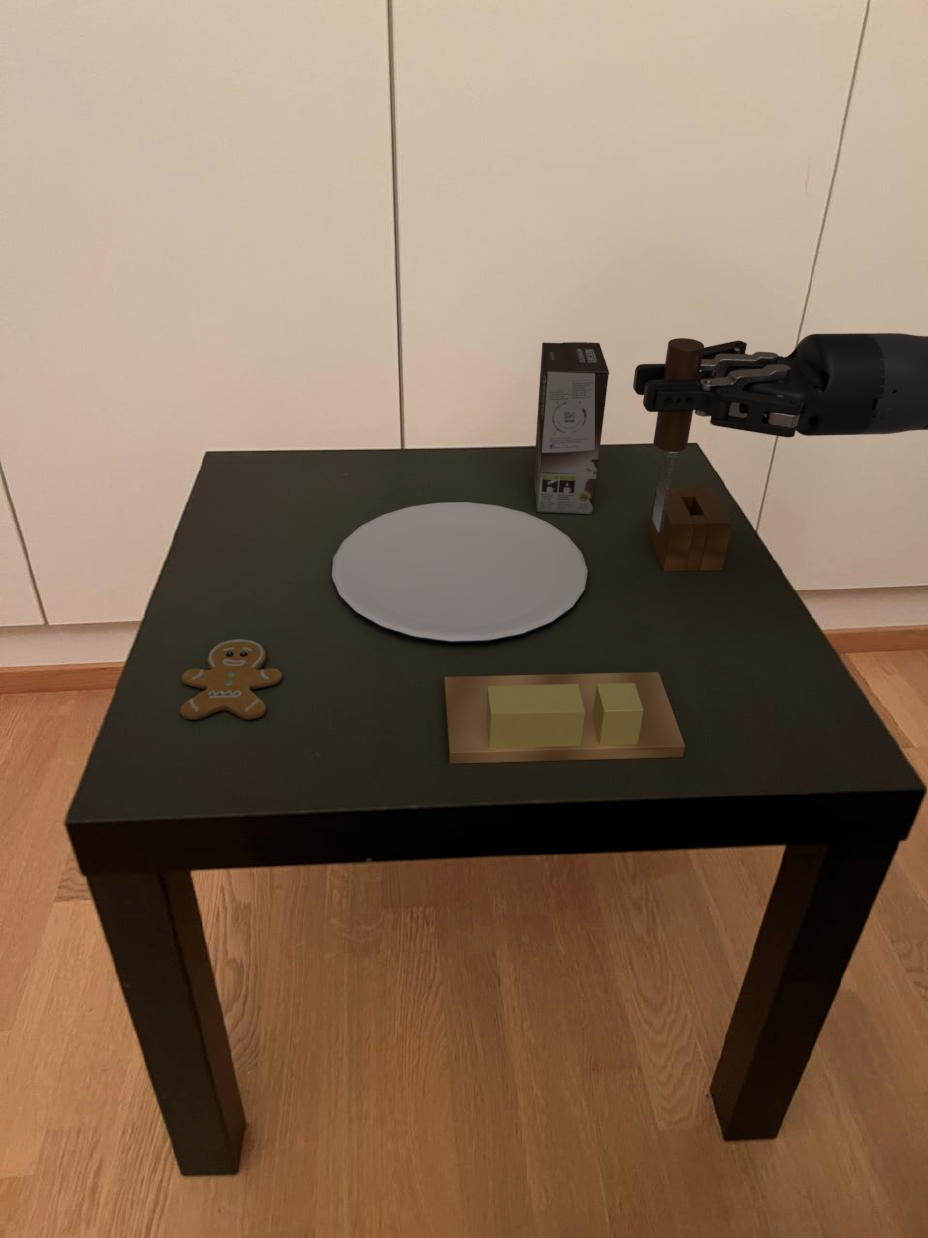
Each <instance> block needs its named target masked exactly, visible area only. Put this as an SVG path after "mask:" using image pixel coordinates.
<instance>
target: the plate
mask: <svg viewBox="0 0 928 1238" xmlns="http://www.w3.org/2000/svg"><path fill="white" fill-rule="evenodd" d="M331 568H332V569H331V579H332V581H333V584H334V586H335V588H336V591H337V594H338V595H339V597H340V598H341V599H342V601H344V602H345V603H346V604H347V606H348V607H349V608H351V609H352V610H353V611H354V613H355V614H356V615H359V616H360V617H362V618H364V619H366V620H368V621H369V622H371V623H373V624H375V625H376V626H378V627H380V628H382V629H385V630H388V631H391V632H394V633H397V634H400V635H404V636H407V637H410V638H414V639H419V640H427V641H435V642H441V643H442V642H443V643H449V644H453V643H489V642H494V641H498V640H504V639H509V638H515V637H519V636H523V635H526V634H528V633H531V632H534V631H536V630H538V629H541V628H543V627H545V626H548V625H550V624H552V623H554V622H555V621H557V620H558V619H559V618H561V617H562V616H564V615H565V614H566V613H567V612H569V611H570V610H572V609H573V608H574V606H575V605H576V604H577V602H578V600H579V599H580V598H581V596H583V593H584V592H585V590H586V585H587V578H588V571H589V570H588V567H587V564H586V560H585V558H584V554H583V552H582V550H580V549H579V547H578V546H577V545H576V544H575V542H574V541H573V540H572V539H571V538H570V537H569V536H568V535H567V534H566V533H565V532H562V531H561V530H560V529H558V528H556V526H554V525H552V524H551V523H550V522H548V521H546V520H543V519H541V518H538V517H537V516H534V515H531V514H529V513H526V512H524V511H521V510H517V509H512V508H509V507H505V506H500V505H496V504H487V503H480V502H479V503H478V502H472V501H471V502H470V501H456V502H455V501H448V502H432V503H427V504H419V505H412V506H407V507H404V508H400V509H397V510H394V511H390V512H387V513H384V514H382V515H379V516H377V517H375V518H373V519H372V520H370V521H368V522H365V523H364V524H362V525H360V526H359V527H358V528H356V529H355V530H354V531H353V532H352V533H351V534H349V535H348V536H347V537H346V538H345V539H344V540H342V542H341V543H340V546H339V547H338V549H337V551H336V552H335V554H334V555H333V558H332V567H331Z"/></svg>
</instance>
